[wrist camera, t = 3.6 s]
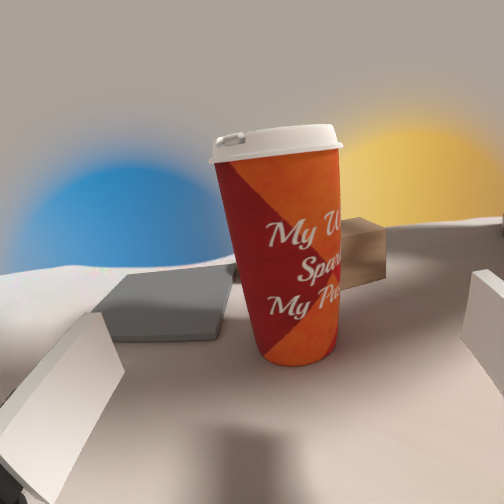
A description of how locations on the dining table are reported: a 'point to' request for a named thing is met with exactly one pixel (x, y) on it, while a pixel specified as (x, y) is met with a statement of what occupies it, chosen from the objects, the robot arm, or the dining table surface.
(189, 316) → the mat
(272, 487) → the dining table surface
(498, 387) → the robot arm
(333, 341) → the paper cup
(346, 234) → the walnut block
